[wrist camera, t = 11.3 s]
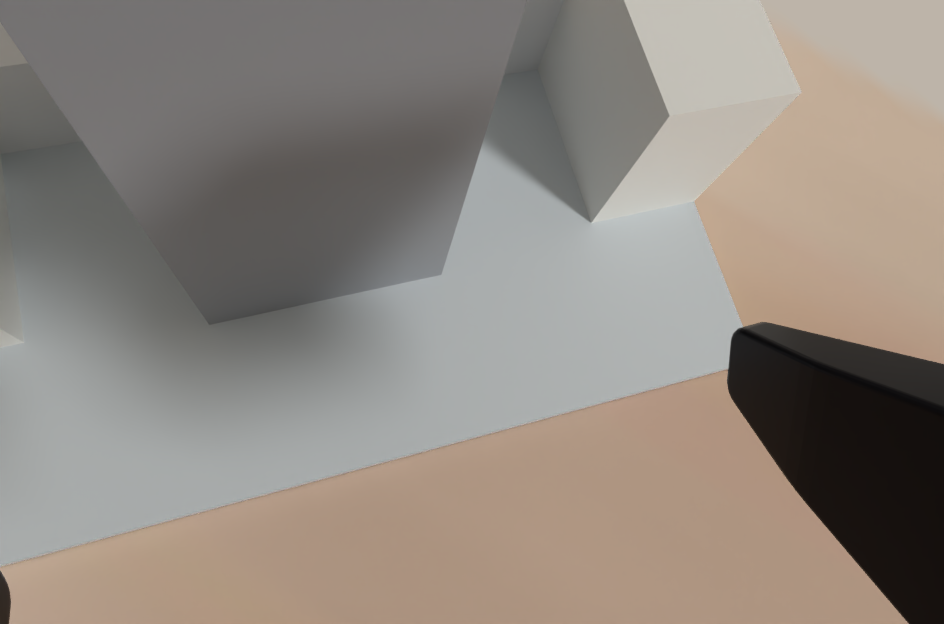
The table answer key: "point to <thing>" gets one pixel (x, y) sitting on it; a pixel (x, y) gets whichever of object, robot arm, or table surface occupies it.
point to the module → (279, 131)
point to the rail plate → (384, 309)
